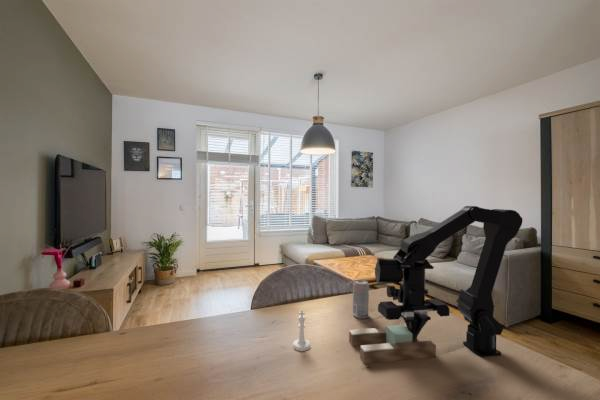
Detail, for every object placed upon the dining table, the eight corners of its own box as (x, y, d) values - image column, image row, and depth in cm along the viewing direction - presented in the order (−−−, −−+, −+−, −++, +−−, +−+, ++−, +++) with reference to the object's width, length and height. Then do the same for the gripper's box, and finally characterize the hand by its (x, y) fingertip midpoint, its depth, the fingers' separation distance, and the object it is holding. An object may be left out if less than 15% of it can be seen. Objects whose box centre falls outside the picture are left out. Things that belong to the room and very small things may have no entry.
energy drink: (367, 312, 96) (367, 279, 96) (369, 319, 91) (369, 284, 91) (352, 312, 97) (352, 279, 97) (353, 318, 92) (354, 283, 92)
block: (402, 342, 77) (402, 324, 77) (412, 352, 72) (412, 333, 72) (385, 343, 76) (386, 326, 76) (395, 353, 71) (395, 334, 71)
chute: (412, 336, 80) (412, 325, 80) (435, 356, 70) (436, 344, 70) (349, 341, 77) (349, 330, 77) (363, 363, 66) (364, 350, 66)
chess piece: (308, 352, 71) (309, 314, 71) (290, 349, 72) (291, 313, 72) (311, 342, 76) (312, 307, 76) (294, 340, 77) (295, 306, 77)
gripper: (425, 274, 84) (424, 323, 84) (370, 276, 81) (369, 327, 81) (451, 285, 73) (450, 342, 73) (388, 288, 70) (387, 347, 70)
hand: (412, 339), depth 74 cm, fingers closed
